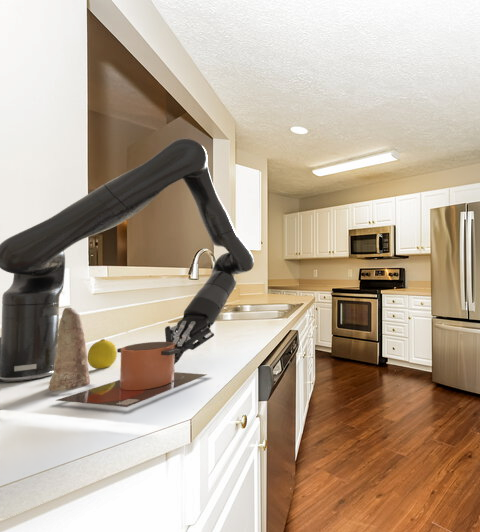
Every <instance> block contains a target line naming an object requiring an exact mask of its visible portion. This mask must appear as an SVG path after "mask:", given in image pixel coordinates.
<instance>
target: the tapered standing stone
mask: <svg viewBox="0 0 480 532" xmlns="http://www.w3.org/2000/svg"><path fill="white" fill-rule="evenodd" d="M57 342H58V346H57V349H56V357H55V361H54V371H53V375H51V377H50V379H49V385H48V391H49V392H57V391H65V390H71V389H72V390H73V389H77V388H81V387H85V386H88V385H90V383H91V379H90V373H89V362H88V352H87V346H86V338H85V332H84V328H83V323H82V319H81V315H80V313H78V311H76V310H75V309H74V308H72V307H65V308H63V310H62V314H61V317H60V320H59V325H58V338H57Z"/></svg>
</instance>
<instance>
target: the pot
mask: <svg viewBox="0 0 480 532" xmlns="http://www.w3.org/2000/svg"><path fill="white" fill-rule="evenodd" d="M116 350H117V353H120V372H119V373H120V374H119V380H120V388H121V389H123V390H144V389H151V388H156V387H160V386H163V385H166V384H169V383H171V382H172V381H173V380H174V372H175V365H174V358H175V354H176V353H180V349H175V343H172V342H166V341H150V342H149V341H148V342H140V343H134V344H130V345H126V346H122V347H119V348H116Z"/></svg>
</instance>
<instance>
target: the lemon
mask: <svg viewBox="0 0 480 532" xmlns="http://www.w3.org/2000/svg"><path fill="white" fill-rule="evenodd" d="M117 355H118V352H117V347H116V345H115V344H114V343H113V342H112V341H109V340H107V339H105V338H102V339H100V340H99V341H96V342H94V344H92V345H91V346H90V348H89V349H88V352H87V363H88V365H89V366H90V367H91V368H93V369H96V370H99V369H106V368H109V367H111V366H112V365H113V364H114V363H115V361H116V359H117Z"/></svg>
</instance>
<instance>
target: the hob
mask: <svg viewBox="0 0 480 532" xmlns="http://www.w3.org/2000/svg"><path fill="white" fill-rule="evenodd" d="M206 376H208V374H207V373H206V374H204V373H190V372H189V373H188V372H176V371H174V380H173V381H172V382H171V383H169V384H166V385H163V386H160V387H156V388H151V389H144V390H123V389H121V388H120V379H119V380H115V381H112V382H109V383H106V384H103V385H100V386H96V387H93V388H90V389H87V390H84V391H80V392H77V393H74V394H71V395H67V396H64V397H62V398H58V399H55V402H56V401H57V402H67V403H69V402H70V403H79V404H87V405H88V404H90V405H100V406H112V407H121V408H122V407H123V408H128V407H130V406H133V405H136V404H138V403H140V402H143V401H146V400H148V399H150V398H153V397H155V396H157V395H161V394H163V393H165V392H168V391H170V390H172V389H175V388H178V387H180V386H182V385H183V386H184V385H185V384H188V383H191V382H193V381H195V380H198V379H200V378H203V377H206Z"/></svg>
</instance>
